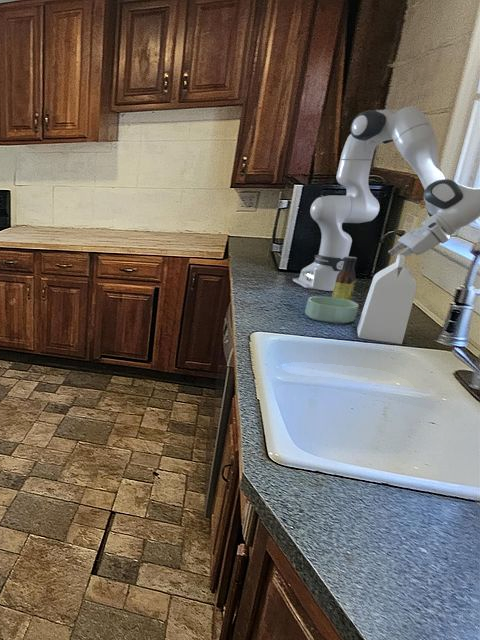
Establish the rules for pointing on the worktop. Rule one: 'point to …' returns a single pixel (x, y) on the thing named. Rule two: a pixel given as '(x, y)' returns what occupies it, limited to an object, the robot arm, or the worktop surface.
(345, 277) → the sauce bottle
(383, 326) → the milk
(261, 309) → the worktop surface
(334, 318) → the bowl
